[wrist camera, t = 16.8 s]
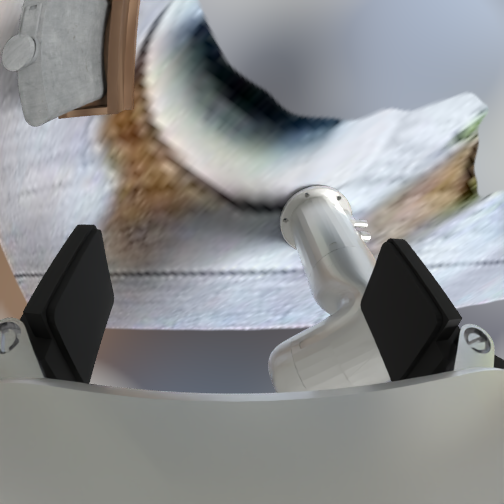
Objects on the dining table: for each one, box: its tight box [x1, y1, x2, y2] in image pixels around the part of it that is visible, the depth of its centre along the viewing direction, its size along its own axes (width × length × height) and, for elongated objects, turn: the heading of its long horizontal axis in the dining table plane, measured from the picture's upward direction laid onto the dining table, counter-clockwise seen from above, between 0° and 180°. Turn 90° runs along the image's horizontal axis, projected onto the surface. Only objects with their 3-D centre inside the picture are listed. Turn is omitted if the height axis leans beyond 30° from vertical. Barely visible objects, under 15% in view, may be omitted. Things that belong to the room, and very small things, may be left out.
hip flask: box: [2, 0, 111, 127], centre depth 25 cm, size 16×4×20 cm, turn 175°
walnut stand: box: [59, 0, 140, 119], centre depth 33 cm, size 12×20×4 cm, turn 174°
